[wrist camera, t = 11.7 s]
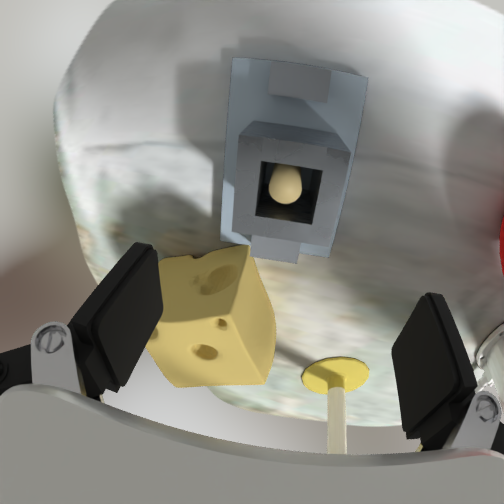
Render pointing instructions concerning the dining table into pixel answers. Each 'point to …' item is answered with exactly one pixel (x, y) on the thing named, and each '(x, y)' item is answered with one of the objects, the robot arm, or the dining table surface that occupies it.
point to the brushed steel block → (310, 201)
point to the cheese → (214, 321)
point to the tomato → (502, 245)
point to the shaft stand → (295, 114)
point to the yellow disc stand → (336, 393)
